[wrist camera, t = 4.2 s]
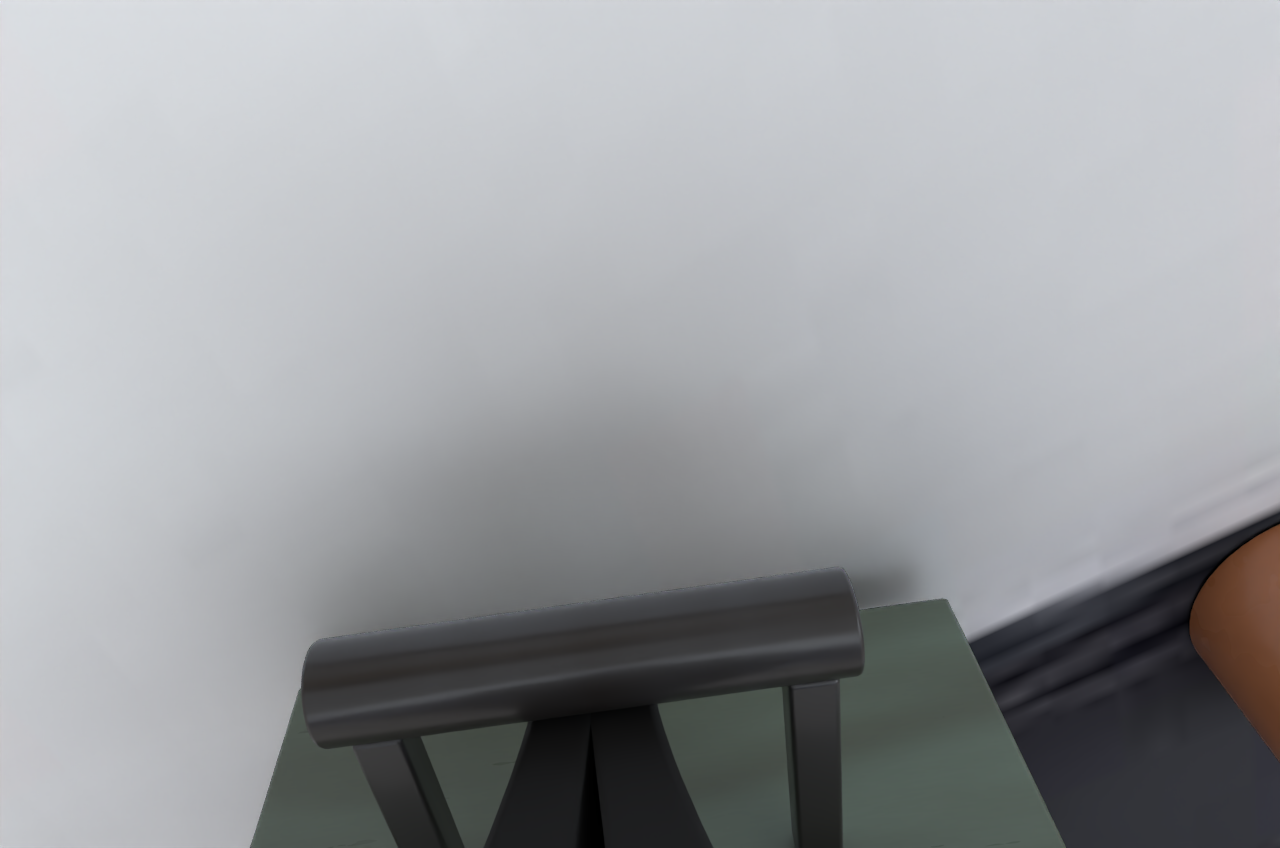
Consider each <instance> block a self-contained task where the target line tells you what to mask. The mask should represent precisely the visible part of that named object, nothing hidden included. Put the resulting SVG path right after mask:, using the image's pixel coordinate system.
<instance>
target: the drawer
mask: <svg viewBox="0 0 1280 848" xmlns="http://www.w3.org/2000/svg"><path fill="white" fill-rule="evenodd" d="M653 704H658V709H659V713H660V717H661V720H662V723H663V727H664V730H665V733H666V736H667V739H668V741H669V744H670V747H671V750H672V753H673V756H674V759H675V761H676V764H677V766H678V769H679V771H680V774H681V777H682V779H683V781H684V784H685V786H686V788H687V791H688V793H689V795H690V797H691V800H692V802H693V804H694V807H695V809H696V811H697V814H698V816H699V818H700V820H701V823H702V825H703V827H704V829H705V831H706V833H707V835H708V838H709V840H710V842H711V844H712V846H713V848H1066V846H1065V844H1064V842H1063V840H1062V838H1061V836H1060V834H1059V832H1058V830H1057V828H1056V825H1055V823H1054V821H1053V819H1052V817H1051V815H1050V813H1049V811H1048V809H1047V807H1046V805H1045V802H1044V800H1043V798H1042V796H1041V794H1040V792H1039V790H1038V788H1037V786H1036V784H1035V782H1034V779H1033V777H1032V775H1031V773H1030V771H1029V769H1028V767H1027V765H1026V763H1025V761H1024V759H1023V756H1022V754H1021V752H1020V750H1019V748H1018V746H1017V744H1016V742H1015V740H1014V738H1013V736H1012V734H1011V731H1010V729H1009V727H1008V725H1007V723H1006V721H1005V719H1004V717H1003V715H1002V713H1001V711H1000V708H999V706H998V704H997V702H996V700H995V698H994V696H993V694H992V692H991V690H990V688H989V685H988V683H987V681H986V679H985V677H984V675H983V673H982V671H981V669H980V667H979V665H978V662H977V660H976V658H975V656H974V654H973V652H972V650H971V648H970V646H969V644H968V642H967V639H966V637H965V635H964V633H963V631H962V629H961V627H960V625H959V623H958V621H957V619H956V616H955V614H954V612H953V610H952V608H951V606H950V604H949V602H948V600H947V599H944V598H942V599H935V600H927V601H920V602H913V603H906V604H898V605H891V606H884V607H877V608H870V609H862V610H859V608H858V604H857V600H856V596H855V593H854V589H853V587H852V584H851V581H850V579H849V577H848V575H847V573H846V572H845V570H844V569H843V568H840V567H833V568H826V569H819V570H812V571H805V572H797V573H790V574H783V575H776V576H769V577H762V578H755V579H747V580H740V581H733V582H726V583H719V584H712V585H704V586H697V587H690V588H683V589H676V590H669V591H661V592H654V593H647V594H640V595H633V596H626V597H618V598H611V599H604V600H597V601H590V602H583V603H575V604H568V605H561V606H554V607H547V608H540V609H532V610H525V611H518V612H511V613H504V614H497V615H489V616H482V617H475V618H468V619H461V620H454V621H446V622H439V623H432V624H425V625H418V626H411V627H403V628H396V629H389V630H382V631H375V632H368V633H360V634H353V635H346V636H339V637H332V638H325V639H320V640H318V641H316V642H315V643H313V644H312V645H311V647H310V648H309V650H308V652H307V655H306V657H305V661H304V665H303V671H302V681H301V688H300V690H299V692H298V695H297V698H296V701H295V704H294V708H293V711H292V714H291V717H290V721H289V724H288V727H287V730H286V734H285V737H284V740H283V743H282V746H281V750H280V753H279V756H278V759H277V763H276V766H275V769H274V772H273V776H272V779H271V782H270V785H269V788H268V792H267V795H266V798H265V801H264V805H263V808H262V811H261V814H260V818H259V821H258V824H257V827H256V831H255V834H254V837H253V840H252V843H251V847H250V848H484V845H485V843H486V840H487V838H488V835H489V833H490V830H491V827H492V825H493V822H494V819H495V817H496V814H497V812H498V809H499V806H500V804H501V801H502V798H503V796H504V793H505V790H506V788H507V785H508V782H509V780H510V777H511V774H512V771H513V768H514V765H515V762H516V759H517V756H518V753H519V750H520V747H521V743H522V740H523V737H524V734H525V730H526V727H527V723H528V722H529V721H536V720H543V719H551V718H558V717H565V716H573V715H580V714H587V713H594V712H602V711H609V710H616V709H624V708H631V707H638V706H645V705H653Z"/></svg>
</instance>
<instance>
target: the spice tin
mask: <svg viewBox="0 0 1280 848" xmlns="http://www.w3.org/2000/svg"><path fill="white" fill-rule="evenodd" d="M1189 628H1190V636H1191V641H1192V644H1193V646H1194V648H1195V650H1196V651H1197V653H1198V654H1199V655H1200V657H1201V658H1202V659H1203V661H1204V662H1205V663H1206V665H1207V666H1208V667H1209V669H1210V670H1211V672H1212V673H1213V674H1214V676H1215V677H1216V678H1217V680H1218V681H1219V682H1220V684H1221V685H1222V686H1223V688H1224V689H1225V690H1226V692H1227V693H1228V694H1229V696H1230V697H1231V698H1232V700H1233V701H1234V702H1235V704H1236V705H1237V706H1238V708H1239V709H1240V710H1241V712H1242V713H1243V714H1244V716H1245V717H1246V718H1247V720H1248V721H1249V722H1250V724H1251V725H1252V726H1253V728H1254V729H1255V731H1256V732H1257V733H1258V735H1259V736H1260V737H1261V739H1262V740H1263V741H1264V743H1265V744H1266V745H1267V747H1268V748H1269V749H1270V751H1271V752H1272V753H1273V755H1274V756H1275V757H1276V759H1277V760H1278V761H1279V763H1280V524H1279V525H1276V526H1274V527H1272V528H1270V529H1268V530H1267V531H1265V532H1263V533H1261V534H1259V535H1258V536H1256V537H1254V538H1253V539H1252V540H1250V541H1249V542H1247V543H1246V544H1244V545H1243V546H1241V547H1240V548H1239V549H1238V550H1236V551H1235V552H1234V553H1233V554H1231V555H1230V556H1229V557H1228V558H1227V559H1226V560H1225V561H1224V562H1223V563H1222V564H1221V565H1220V566H1218V568H1217V569H1216V570H1215V571H1214V572H1213V573H1212V575H1211V576H1210V577H1209V578H1208V580H1207V581H1206V582H1205V584H1204V585H1203V587H1202V588H1201V590H1200V592H1199V594H1198V596H1197V598H1196V599H1195V602H1194V605H1193V608H1192V610H1191V615H1190V621H1189Z"/></svg>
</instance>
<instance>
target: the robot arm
mask: <svg viewBox="0 0 1280 848" xmlns="http://www.w3.org/2000/svg"><path fill="white" fill-rule="evenodd" d="M484 848H713V846H712V844H711V842H710V840H709V838H708V835H707V833H706V831H705V829H704V827H703V825H702V823H701V820H700V818H699V816H698V814H697V811H696V809H695V807H694V804H693V802H692V800H691V797H690V795H689V793H688V791H687V788H686V786H685V784H684V781H683V779H682V777H681V774H680V771H679V769H678V766H677V764H676V761H675V759H674V756H673V753H672V750H671V747H670V744H669V741H668V739H667V736H666V733H665V730H664V727H663V723H662V720H661V717H660V713H659V709H658V704H653V705H645V706H638V707H631V708H624V709H616V710H609V711H602V712H594V713H587V714H580V715H573V716H565V717H558V718H551V719H543V720H536V721H529V722H528V723H527V727H526V730H525V734H524V737H523V740H522V743H521V747H520V750H519V753H518V756H517V759H516V762H515V765H514V768H513V771H512V774H511V777H510V780H509V782H508V785H507V788H506V790H505V793H504V796H503V798H502V801H501V804H500V806H499V809H498V812H497V814H496V817H495V819H494V822H493V825H492V827H491V830H490V833H489V835H488V838H487V840H486V843H485V845H484Z"/></svg>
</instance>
